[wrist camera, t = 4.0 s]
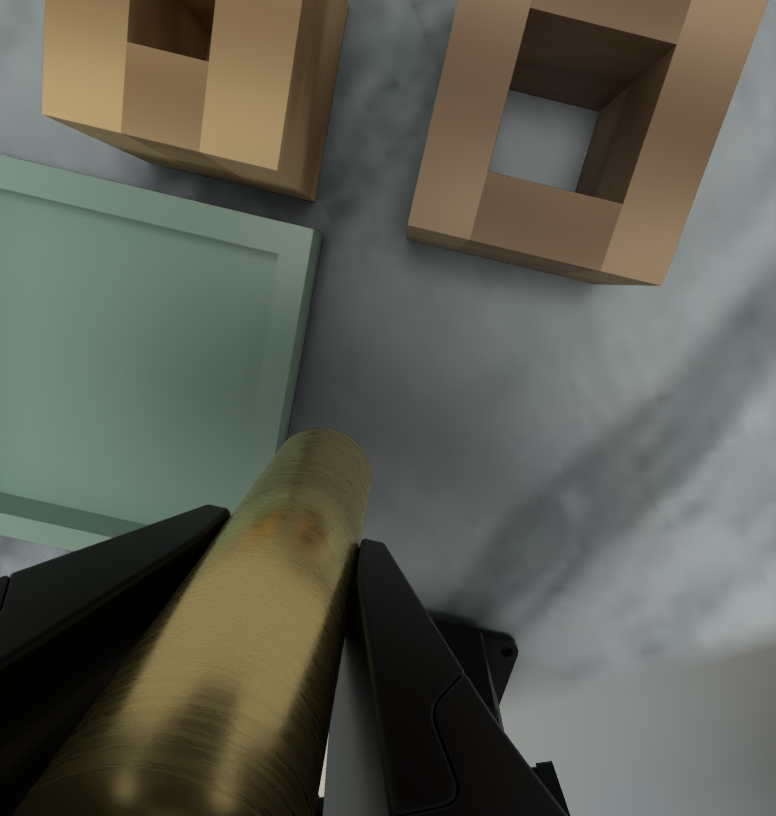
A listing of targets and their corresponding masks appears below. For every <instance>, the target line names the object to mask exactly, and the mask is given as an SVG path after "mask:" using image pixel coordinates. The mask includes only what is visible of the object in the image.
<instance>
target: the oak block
mask: <svg viewBox="0 0 776 816" xmlns="http://www.w3.org/2000/svg"><path fill="white" fill-rule="evenodd" d="M347 11H348V0H45V10H44V52H43V94H42V114H43V115H45V116H47V117H49V118H52V119H54V120H56V121H58V122H60V123H63V124H65V125H67V126H69V127H72V128H74V129H76V130H78V131H80V132H83V133H85V134H87V135H89V136H91V137H94V138H96V139H98V140H100V141H103V142H105V143H107V144H109V145H111V146H114V147H116V148H118V149H120V150H122V151H125V152H127V153H129V154H131V155H133V156H136V157H138V158H140V159H142V160H145V161H147V162H149V163H154V164H158V165H162V166H166V167H170V168H175V169H179V170H183V171H187V172H191V173H195V174H200V175H204V176H208V177H212V178H216V179H221V180H225V181H229V182H233V183H237V184H242V185H246V186H250V187H254V188H258V189H262V190H267V191H271V192H275V193H279V194H283V195H288V196H292V197H296V198H300V199H304V200H309V201H313V202H315V198H316V192H317V186H318V180H319V175H320V169H321V163H322V157H323V151H324V145H325V139H326V134H327V128H328V122H329V116H330V110H331V104H332V99H333V93H334V87H335V81H336V75H337V69H338V63H339V58H340V52H341V46H342V40H343V34H344V28H345V22H346V17H347Z"/></svg>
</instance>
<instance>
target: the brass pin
mask: <svg viewBox="0 0 776 816" xmlns="http://www.w3.org/2000/svg"><path fill="white" fill-rule="evenodd" d="M371 481H372V471H371V466H370V462H369V459H368V457H367V455H366V453H365V452H364V450H363V449H362V448H361V446H360V445H359V444H358V443H357V442H356V441H355V440H353V439H352V438H351V437H349V436H348V435H346V434H344V433H342V432H340V431H337V430H334V429H329V428H311V429H306V430H303V431H301V432H298V433H297V434H295V435H293V436H292V437H290V438H289V439H288V440H287V441H286V442H285V443H284V444H283V445H282V446H281V448H280V449H279V450H278V452H277V453H276V455H275V456H274V457H273V459H272V460H271V461H270V463H269V464H268V465H267V467H266V468H265V470H264V471H263V472H262V474H261V475H260V476H259V478H258V479H257V480H256V482H255V483H254V485H253V486H252V487H251V489H250V490H249V491H248V493H247V494H246V495H245V497H244V498H243V500H242V501H241V502H240V504H239V505H238V506H237V508H236V509H235V511H234V512H233V513H232V515H231V516H230V517H229V519H228V520H227V521H226V523H225V524H224V526H223V527H222V528H221V530H220V531H219V532H218V534H217V535H216V536H215V538H214V539H213V541H212V542H211V543H210V545H209V546H208V547H207V549H206V550H205V551H204V553H203V554H202V556H201V557H200V558H199V560H198V561H197V562H196V564H195V565H194V566H193V568H192V569H191V571H190V572H189V573H188V575H187V576H186V577H185V579H184V580H183V581H182V583H181V584H180V586H179V587H178V588H177V590H176V591H175V592H174V594H173V595H172V597H171V598H170V599H169V601H168V602H167V603H166V605H165V606H164V607H163V609H162V610H161V612H160V613H159V614H158V616H157V617H156V618H155V620H154V621H153V622H152V624H151V625H150V627H149V628H148V629H147V631H146V632H145V633H144V635H143V636H142V637H141V639H140V640H139V642H138V643H137V644H136V646H135V647H134V648H133V650H132V651H131V652H130V654H129V655H128V657H127V658H126V659H125V661H124V662H123V663H122V665H121V666H120V668H119V669H118V670H117V672H116V673H115V674H114V676H113V677H112V678H111V680H110V681H109V683H108V684H107V685H106V687H105V688H104V689H103V691H102V692H101V693H100V695H99V696H98V698H97V699H96V700H95V702H94V703H93V704H92V706H91V707H90V708H89V710H88V711H87V713H86V714H85V715H84V717H83V718H82V719H81V721H80V722H79V723H78V725H77V726H76V728H75V729H74V730H73V732H72V733H71V734H70V736H69V737H68V739H67V740H66V741H65V743H64V744H63V745H62V747H61V748H60V749H59V751H58V752H57V754H56V755H55V756H54V758H53V759H52V760H51V762H50V763H49V764H48V766H47V767H46V769H45V770H44V771H43V773H42V774H41V775H40V777H39V778H38V779H37V781H36V782H35V784H34V785H33V786H32V788H31V789H30V790H29V792H28V793H27V794H26V796H25V797H24V799H23V800H22V801H21V803H20V804H19V805H18V807H17V808H16V810H15V811H14V812H13V814H12V815H11V816H314V815H315V809H316V804H317V798H318V791H319V786H320V780H321V774H322V768H323V762H324V757H325V751H326V745H327V739H328V733H329V727H330V721H331V716H332V710H333V704H334V698H335V692H336V686H337V680H338V675H339V669H340V663H341V657H342V651H343V645H344V639H345V633H346V628H347V622H348V615H349V608H350V600H351V593H352V587H353V581H354V575H355V570H356V564H357V558H358V552H359V547H360V543H361V540H362V534H363V528H364V522H365V516H366V510H367V504H368V498H369V493H370V487H371Z"/></svg>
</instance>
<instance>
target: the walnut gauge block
mask: <svg viewBox="0 0 776 816" xmlns="http://www.w3.org/2000/svg"><path fill="white" fill-rule="evenodd" d="M767 3H768V0H458V1H457V5H456V10H455V14H454V19H453V23H452V28H451V32H450V37H449V41H448V46H447V50H446V55H445V59H444V63H443V68H442V72H441V77H440V81H439V86H438V90H437V95H436V99H435V104H434V108H433V113H432V117H431V122H430V126H429V131H428V135H427V140H426V144H425V149H424V153H423V157H422V162H421V166H420V171H419V175H418V180H417V184H416V189H415V193H414V198H413V202H412V207H411V211H410V216H409V220H408V225H407V239H408V240H412V241H416V242H421V243H425V244H429V245H433V246H437V247H442V248H446V249H450V250H454V251H458V252H463V253H467V254H471V255H475V256H479V257H484V258H488V259H492V260H496V261H500V262H505V263H509V264H513V265H517V266H521V267H526V268H530V269H534V270H538V271H542V272H547V273H551V274H555V275H559V276H563V277H568V278H572V279H576V280H580V281H584V282H589V283H593V284H609V285H650V286H662V284H663V281H664V278H665V276H666V273H667V270H668V268H669V265H670V262H671V260H672V257H673V254H674V252H675V249H676V246H677V243H678V241H679V238H680V235H681V233H682V230H683V227H684V225H685V222H686V219H687V217H688V214H689V211H690V209H691V206H692V203H693V201H694V198H695V195H696V193H697V190H698V187H699V185H700V182H701V179H702V177H703V174H704V171H705V169H706V166H707V163H708V161H709V158H710V155H711V152H712V150H713V147H714V144H715V142H716V139H717V136H718V134H719V131H720V128H721V126H722V123H723V120H724V118H725V115H726V112H727V110H728V107H729V104H730V102H731V99H732V96H733V94H734V91H735V88H736V86H737V83H738V80H739V78H740V75H741V72H742V70H743V67H744V64H745V62H746V59H747V56H748V53H749V51H750V48H751V45H752V43H753V40H754V37H755V35H756V32H757V29H758V27H759V24H760V21H761V19H762V16H763V13H764V11H765V8H766V5H767ZM509 89H512V90H516V91H520V92H524V93H528V94H532V95H536V96H540V97H544V98H549V99H553V100H557V101H561V102H565V103H569V104H573V105H577V106H581V107H585V108H589V109H593V110H597V111H600V114H599V117H598V120H597V123H596V127H595V130H594V133H593V136H592V140H591V143H590V146H589V149H588V153H587V156H586V159H585V162H584V166H583V169H582V172H581V175H580V178H579V182H578V185H577V188H576V191H575V192H571V191H567V190H562V189H558V188H554V187H550V186H546V185H542V184H538V183H534V182H529V181H525V180H521V179H517V178H513V177H509V176H505V175H500V174H496V173H492V172H488V167H489V164H490V160H491V156H492V152H493V148H494V144H495V140H496V137H497V133H498V129H499V125H500V121H501V117H502V113H503V110H504V106H505V102H506V98H507V94H508V90H509Z"/></svg>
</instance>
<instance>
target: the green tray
mask: <svg viewBox="0 0 776 816" xmlns="http://www.w3.org/2000/svg"><path fill="white" fill-rule="evenodd" d="M322 239H323V234H322V233H320V232H318V231H316V230H314V229H310V228H306V227H302V226H298V225H294V224H289V223H285V222H281V221H277V220H273V219H268V218H264V217H260V216H256V215H251V214H247V213H243V212H239V211H235V210H230V209H226V208H222V207H218V206H214V205H209V204H205V203H201V202H197V201H193V200H188V199H184V198H180V197H176V196H171V195H167V194H163V193H159V192H155V191H150V190H146V189H142V188H138V187H134V186H129V185H125V184H121V183H117V182H113V181H108V180H104V179H100V178H96V177H92V176H87V175H83V174H79V173H75V172H70V171H66V170H62V169H58V168H54V167H49V166H45V165H41V164H37V163H33V162H28V161H24V160H20V159H16V158H12V157H7V156H3V155H0V535H3V536H8V537H12V538H17V539H21V540H26V541H30V542H35V543H39V544H44V545H48V546H53V547H57V548H62V549H66V550H71V551H77V550H80V549H82V548H85V547H88V546H91V545H94V544H97V543H99V542H102V541H105V540H108V539H111V538H114V537H116V536H119V535H122V534H125V533H128V532H131V531H133V530H136V529H139V528H142V527H145V526H147V525H150V524H153V523H156V522H159V521H162V520H164V519H167V518H170V517H173V516H176V515H178V514H181V513H184V512H187V511H190V510H193V509H195V508H198V507H201V506H204V505H207V504H210V505H215V506H219V507H224V508H227V509H229V511H230V515H232V513H233V512H234V511H235V509H236V508H237V506H238V505H239V504H240V502H241V501H242V500H243V498H244V497H245V495H246V494H247V493H248V491H249V490H250V489H251V487H252V486H253V485H254V483H255V482H256V480H257V479H258V478H259V476H260V475H261V474H262V472H263V471H264V470H265V468H266V467H267V465H268V464H269V463H270V461H271V460H272V459H273V457H274V456H275V455H276V453H277V452H278V450H279V449H280V448H281V446H282V445H283V444H284V443H285V442H286V440H287V435H288V429H289V424H290V418H291V412H292V407H293V401H294V396H295V390H296V384H297V379H298V373H299V368H300V362H301V356H302V351H303V345H304V340H305V334H306V328H307V323H308V317H309V312H310V306H311V301H312V295H313V289H314V284H315V278H316V273H317V267H318V261H319V256H320V250H321V245H322Z"/></svg>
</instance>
